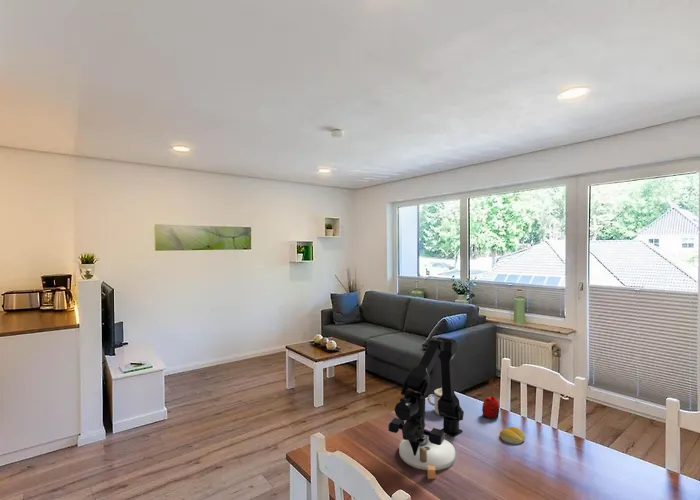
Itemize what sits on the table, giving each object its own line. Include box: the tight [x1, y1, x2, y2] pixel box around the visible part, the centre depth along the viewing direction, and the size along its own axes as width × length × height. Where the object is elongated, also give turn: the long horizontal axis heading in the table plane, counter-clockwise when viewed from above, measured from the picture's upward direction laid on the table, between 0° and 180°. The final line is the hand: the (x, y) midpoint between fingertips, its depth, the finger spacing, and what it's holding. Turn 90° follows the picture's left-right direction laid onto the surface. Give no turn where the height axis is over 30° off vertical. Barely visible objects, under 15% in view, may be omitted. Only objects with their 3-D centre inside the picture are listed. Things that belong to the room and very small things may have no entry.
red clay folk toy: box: [481, 384, 500, 420], centre depth 165 cm, size 8×7×15 cm
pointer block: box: [426, 465, 437, 480], centre depth 124 cm, size 2×2×3 cm
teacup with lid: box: [427, 387, 442, 415], centre depth 171 cm, size 12×9×12 cm
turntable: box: [398, 437, 456, 471], centre depth 136 cm, size 20×20×6 cm
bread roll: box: [499, 426, 526, 445], centre depth 146 cm, size 8×9×4 cm
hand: (415, 455), depth 130 cm, fingers closed
